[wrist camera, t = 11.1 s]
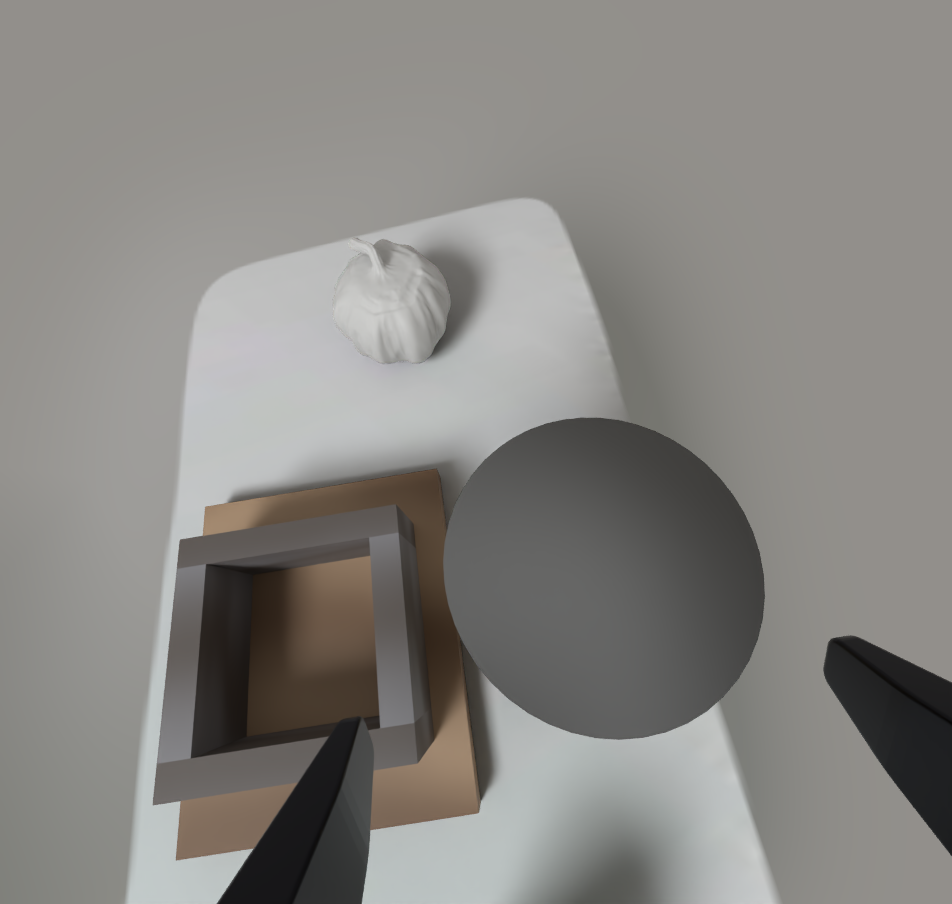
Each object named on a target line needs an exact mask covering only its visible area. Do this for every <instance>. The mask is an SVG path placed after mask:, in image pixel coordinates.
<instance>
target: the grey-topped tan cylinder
mask: <svg viewBox="0 0 952 904" xmlns="http://www.w3.org/2000/svg"><path fill="white" fill-rule="evenodd" d="M443 568H444V584H445V589H446V595H447V600H448V605H449V608H450V611H451V614H452V618H453V621H454V624H455V626H456V628H457V631H458V633H459V635H460V637H461V639H462V641H463V644H464V645H465V647H466V649H467V650H468V652H469V653H470V655H471V657H472V658H473V660H474V661H475V663H476V665H477V666H478V667H479V668H480V669H481V671H482V672H483V673H484V674H485V676H486V677H487V678H488V679H489V680H490V682H491V683H492V684H493V685H494V686H495V687H496V688H498V689H499V690H500V691H501V692H502V693H503V694H504V695H505V696H506V697H507V698H508V699H509V700H511V701H512V702H514V703H515V704H516V705H518V706H519V707H520V708H522V709H523V710H525V711H526V712H527V713H529V714H531V715H533V716H535V717H537V718H538V719H540V720H542V721H544V722H546V723H548V724H550V725H552V726H555V727H558V728H560V729H563V730H566V731H569V732H571V733H575V734H580V735H584V736H589V737H594V738H604V739H618V740H620V739H633V738H644V737H648V736H652V735H656V734H660V733H665V732H668V731H670V730H672V729H675V728H677V727H680V726H682V725H684V724H687V723H689V722H690V721H692V720H693V719H695V718H697V717H698V716H700V715H702V714H703V713H705V712H706V711H708V710H709V709H710V708H711V707H712V706H713V705H715V704H716V703H717V702H718V701H719V700H720V699H721V698H723V697H724V695H725V694H726V693H727V692H728V691H729V690H730V688H731V687H732V686H733V685H734V684H735V682H736V681H737V680H738V679H739V677H740V675H741V673H742V672H743V670H744V668H745V667H746V665H747V663H748V662H749V660H750V657H751V655H752V652H753V650H754V647H755V645H756V642H757V640H758V636H759V632H760V628H761V623H762V619H763V609H764V598H765V594H764V574H763V568H762V563H761V558H760V553H759V549H758V546H757V543H756V540H755V537H754V534H753V531H752V529H751V527H750V525H749V523H748V520H747V518H746V516H745V514H744V512H743V510H742V509H741V507H740V506H739V504H738V502H737V501H736V499H735V497H734V496H733V495H732V493H731V492H730V491H729V489H728V488H727V487H726V485H725V484H724V483H723V482H722V480H721V479H720V478H719V477H718V476H717V475H716V474H715V473H714V472H713V471H712V470H711V469H710V468H709V467H708V466H707V465H706V464H705V463H704V462H703V461H702V460H700V459H699V458H698V457H697V456H695V455H694V454H693V453H692V452H690V451H689V450H688V449H686V448H684V447H683V446H681V445H680V444H678V443H677V442H675V441H673V440H671V439H670V438H668V437H665V436H664V435H662V434H660V433H657V432H656V431H653V430H650V429H647V428H644V427H642V426H639V425H636V424H632V423H628V422H624V421H619V420H612V419H604V418H575V419H566V420H560V421H556V422H552V423H547V424H544V425H541V426H538V427H536V428H533V429H530V430H528V431H526V432H524V433H522V434H520V435H518V436H516V437H514V438H512V439H511V440H509V441H508V442H507V443H505V444H504V445H502V446H501V447H499V448H498V449H497V450H496V451H494V452H493V453H492V454H491V455H490V456H489V457H488V458H487V459H485V460H484V462H483V463H482V464H481V465H480V466H479V467H478V468H477V470H476V471H475V472H474V473H473V474H472V476H471V477H470V479H469V480H468V482H467V483H466V485H465V486H464V488H463V490H462V492H461V494H460V496H459V498H458V500H457V502H456V504H455V506H454V509H453V512H452V515H451V518H450V521H449V524H448V528H447V533H446V538H445V545H444V558H443Z"/></svg>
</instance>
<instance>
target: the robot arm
mask: <svg viewBox="0 0 952 904" xmlns="http://www.w3.org/2000/svg"><path fill="white" fill-rule="evenodd" d="M824 676H825V678H826V681H827V683H828V684H829V686H830V688H831V689H832V691H833V692H834V694H835V695H836V697H837V698H838V700H839V701H840V703H841V704H842V706H843V707H844V709H845V710H846V712H847V713H848V715H849V716H850V718H851V720H852V721H853V722H854V724H855V726H856V727H857V729H858V730H859V732H860V733H861V735H862V736H863V738H864V739H865V741H866V742H867V744H868V746H869V747H870V749H871V750H872V752H873V753H874V755H875V756H876V758H877V759H878V760H879V762H880V763H881V765H882V766H883V768H884V769H885V770H886V771H887V773H888V774H889V776H890V777H891V778H892V780H893V781H894V782H895V784H896V785H897V786H898V788H899V789H900V790H901V791H902V793H903V794H904V795H905V797H906V798H907V799H908V800H909V802H910V803H911V804H912V806H913V807H914V808H915V809H916V811H917V812H918V813H919V815H920V816H921V817H922V818H923V820H924V821H925V822H926V824H927V825H928V826H929V828H930V829H931V830H932V831H933V833H934V834H935V835H936V837H937V838H938V839H939V840H940V842H941V843H942V844H943V846H944V847H945V848H946V849H947V850H948V852H949V853H950V855H951V856H952V682H950V681H948V680H946V679H943V678H942V677H939V676H937V675H935V674H933V673H931V672H929V671H927V670H925V669H923V668H921V667H919V666H917V665H915V664H913V663H911V662H908V661H906V660H904V659H902V658H900V657H898V656H896V655H894V654H892V653H890V652H888V651H886V650H884V649H882V648H880V647H878V646H875V645H873V644H871V643H869V642H867V641H865V640H863V639H861V638H859V637H856V636H843V637H837V638H833V639H831V640H830V641H829V642H828V646H827V652H826V657H825V662H824ZM373 769H374V747H373V743H372V740H371V737H370V734H369V732H368V729H367V726H366V723H365V721H364V719H363V718H362V717H361V716H355V717H349V718H344V719H342V720H340V721H339V722H338V723H337V725H336V726H335V728H334V729H333V731H332V732H331V734H330V735H329V737H328V738H327V740H326V741H325V743H324V744H323V746H322V747H321V749H320V750H319V752H318V753H317V755H316V756H315V758H314V759H313V761H312V762H311V764H310V765H309V767H308V768H307V770H306V771H305V773H304V774H303V776H302V777H301V779H300V780H299V782H298V783H297V785H296V786H295V788H294V789H293V791H292V792H291V794H290V795H289V797H288V798H287V800H286V801H285V803H284V804H283V806H282V807H281V809H280V810H279V812H278V813H277V815H276V816H275V817H274V819H273V820H272V822H271V823H270V825H269V826H268V828H267V829H266V831H265V832H264V834H263V835H262V837H261V838H260V840H259V841H258V843H257V844H256V846H255V847H254V849H253V850H252V852H251V853H250V855H249V856H248V858H247V859H246V861H245V862H244V864H243V865H242V867H241V868H240V870H239V871H238V873H237V874H236V876H235V877H234V879H233V880H232V882H231V883H230V885H229V886H228V888H227V889H226V891H225V892H224V894H223V895H222V897H221V898H220V900H219V901H218V903H217V904H362V898H363V891H364V884H365V877H366V870H367V863H368V854H369V842H370V825H371V806H372V788H373Z"/></svg>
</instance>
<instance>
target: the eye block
mask: <svg viewBox="0 0 952 904" xmlns="http://www.w3.org/2000/svg"><path fill="white" fill-rule="evenodd" d="M446 533H447V528H446V520H445V512H444V504H443V496H442V488H441V480H440V475H439V473H438V471H437V469H431V470H425V471H419V472H413V473H407V474H401V475H395V476H389V477H383V478H377V479H371V480H365V481H359V482H353V483H347V484H341V485H335V486H328V487H322V488H316V489H310V490H304V491H298V492H292V493H286V494H280V495H274V496H268V497H262V498H256V499H250V500H244V501H238V502H232V503H225V504H219V505H213V506H207V507H205V516H204V528H203V536H199V537H193V538H187V539H181V540H180V544H179V553H178V563H177V573H176V583H175V592H174V602H173V612H172V622H171V631H170V641H169V651H168V661H167V670H166V680H165V690H164V700H163V709H162V719H161V729H160V739H159V748H158V758H157V768H156V778H155V787H154V797H153V805H158V804H165V803H171V802H177V801H181V804H180V816H179V828H178V840H177V852H176V860H182V859H188V858H195V857H201V856H208V855H214V854H220V853H227V852H233V851H240V850H246V849H252V848H254V847H255V846H256V844H257V843H258V841H259V840H260V838H261V837H262V835H263V834H264V832H265V831H266V829H267V828H268V826H269V825H270V823H271V822H272V820H273V819H274V817H275V816H276V815H277V813H278V812H279V810H280V809H281V807H282V806H283V804H284V803H285V801H286V800H287V798H288V797H289V795H290V794H291V792H292V791H293V789H294V788H295V786H296V785H297V783H298V782H299V780H300V779H301V777H302V776H303V774H304V773H305V771H306V770H307V768H308V767H309V765H310V764H311V762H312V761H313V759H314V758H315V756H316V755H317V753H318V752H319V750H320V749H321V747H322V746H323V744H324V743H325V741H326V740H327V738H328V737H329V735H330V734H331V732H332V731H333V729H334V728H335V726H336V725H337V723H338V722H339V721H340V720H342V719H344V718H349V717H355V716H361V717H362V718H363V719H364V721H365V723H366V726H367V729H368V732H369V734H370V737H371V740H372V743H373V747H374V769H373V788H372V806H371V825H370V830H374V829H381V828H387V827H393V826H400V825H406V824H413V823H419V822H425V821H432V820H438V819H445V818H451V817H457V816H464V815H470V814H477V813H479V809H480V804H481V801H480V793H479V785H478V777H477V769H476V761H475V753H474V745H473V737H472V729H471V721H470V713H469V705H468V697H467V689H466V681H465V673H464V665H463V657H462V649H461V641H460V635H459V633H458V631H457V628H456V626H455V624H454V621H453V618H452V614H451V611H450V608H449V605H448V600H447V595H446V589H445V584H444V568H443V558H444V545H445V538H446Z"/></svg>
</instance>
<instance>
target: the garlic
mask: <svg viewBox="0 0 952 904" xmlns="http://www.w3.org/2000/svg"><path fill="white" fill-rule="evenodd" d="M348 243H349V244H348V245H349V247H350V249H352V250H354V251H357V252H360V254H358V255H357V256H355V257H353V258H352V259H351V260H350V261H349V262H348V265H347V267H346V268H345V270H344V271H343V273H342V274H341V275H340V277H339V279H338V281H337V283H336V285H335V294H334V298H333V319H334V322H335V324H336V326H337V328H338V329H339V330H340V331H341V333H342V334H343V335H344V336H346V337H347V338H348V339H350V340H351V341H352V342H353V344H354V346H355V348H356V349H357V351H358V352H359V353H360V354H362V355H364V356H369V357H370V358H372V359H373V360H375V361H377V362H379V363H383V364H390V363H395V362H401V361H408V362H411V363H414V364H418V363H422V362H424V361H425V360H426V359H428V358H429V357H430V356H431V354H432V353H433V349H434V347H435V345H436V344H437V342H438V341H439V339H440V338H441V337H442V336H443V334H444V332H445V329H446V321H447V315H448V313H449V310H450V306H451V299H450V293H449V290H448V287H447V283H446V281H445V278H444V277H443V275H442V274H441V272H440V270H439V269H438V267H437V266H436V265H434V264H433V263H431V262H430V261H429V260H427V259H426V258H425V257H424V256H423V255H421V254H420V253H419V252H418V251H417V250H415V249H414V248H413V247H411V246H408V245H399V244H395V243H392V242H390V241H388V240H384V239H382V240H379V241H377V242H376V243H375V244H374V245H372V244H371V243H368V242H365V241H361V240H359V239H358V238H354V237H353V238H351V239H350V240H349V242H348Z"/></svg>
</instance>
